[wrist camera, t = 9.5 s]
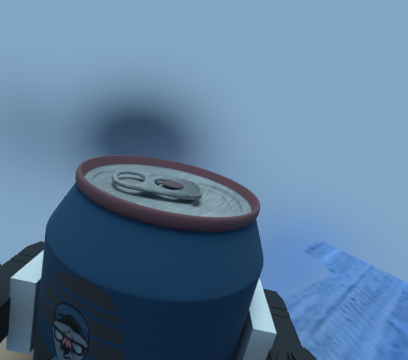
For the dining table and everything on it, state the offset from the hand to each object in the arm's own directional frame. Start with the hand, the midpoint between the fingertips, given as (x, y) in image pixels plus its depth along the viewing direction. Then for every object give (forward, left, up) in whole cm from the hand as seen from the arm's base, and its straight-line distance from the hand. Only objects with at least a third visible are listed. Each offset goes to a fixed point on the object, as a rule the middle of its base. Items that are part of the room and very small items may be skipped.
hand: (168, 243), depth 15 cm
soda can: (+1, +5, -7) cm, 9 cm away
